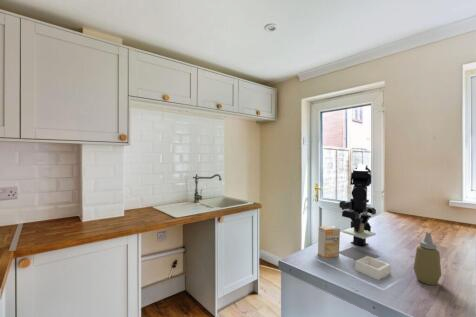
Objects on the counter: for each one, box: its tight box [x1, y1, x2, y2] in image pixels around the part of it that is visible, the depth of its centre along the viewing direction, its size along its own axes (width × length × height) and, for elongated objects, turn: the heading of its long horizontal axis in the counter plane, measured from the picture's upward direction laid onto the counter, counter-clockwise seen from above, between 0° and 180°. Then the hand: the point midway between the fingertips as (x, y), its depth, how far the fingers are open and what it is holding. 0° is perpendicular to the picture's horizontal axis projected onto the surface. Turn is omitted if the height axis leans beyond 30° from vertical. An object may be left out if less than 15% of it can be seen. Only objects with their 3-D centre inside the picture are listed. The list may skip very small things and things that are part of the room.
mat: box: [339, 246, 380, 261], centre depth 110 cm, size 13×13×1 cm
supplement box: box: [317, 225, 341, 259], centre depth 109 cm, size 8×5×13 cm, turn 105°
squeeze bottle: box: [413, 231, 442, 286], centre depth 88 cm, size 8×8×18 cm
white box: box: [354, 256, 392, 281], centre depth 94 cm, size 9×9×4 cm
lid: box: [342, 223, 376, 239], centre depth 109 cm, size 10×10×5 cm
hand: (358, 230), depth 109 cm, fingers closed on lid, 3 cm apart
